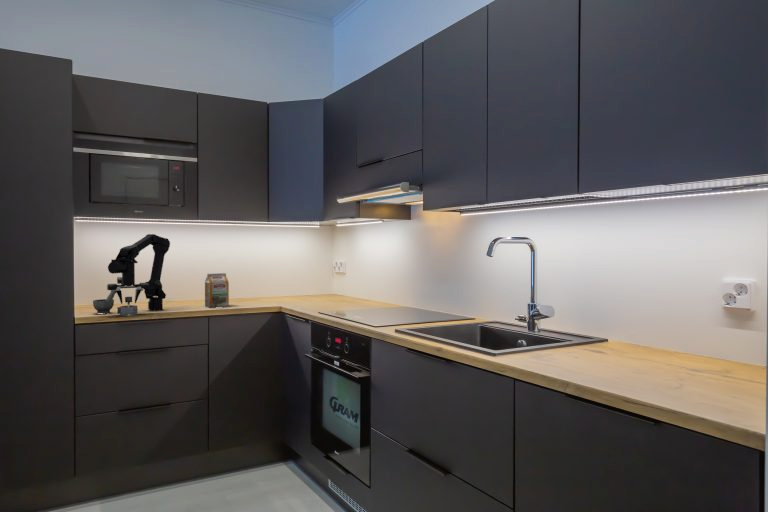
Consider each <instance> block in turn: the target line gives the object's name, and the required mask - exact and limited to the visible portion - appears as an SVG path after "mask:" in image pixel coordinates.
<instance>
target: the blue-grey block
mask: <svg viewBox="0 0 768 512" xmlns="http://www.w3.org/2000/svg"><path fill="white" fill-rule="evenodd" d="M116 309H117V310H116V311H117V314H118V315H120V316H119V317H133V316H138V314H139V312H138V305H135V304H134V305H133V304H131V305H130V307H128V304H127V305H121V306H117V308H116Z"/></svg>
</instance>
